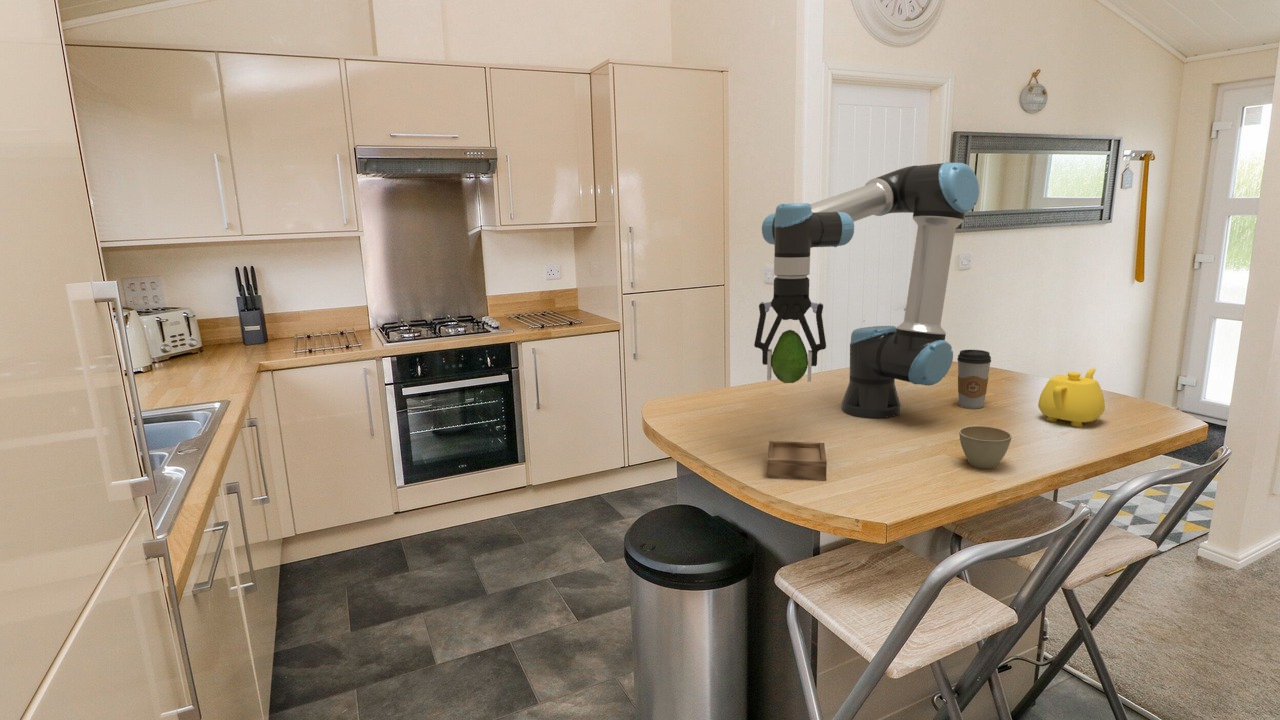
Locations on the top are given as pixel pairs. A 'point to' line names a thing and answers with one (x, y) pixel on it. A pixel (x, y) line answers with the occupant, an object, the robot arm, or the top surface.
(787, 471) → the base
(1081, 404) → the teapot
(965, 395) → the coffee cup
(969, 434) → the grey bowl
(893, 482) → the top surface
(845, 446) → the top surface
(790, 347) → the avocado
